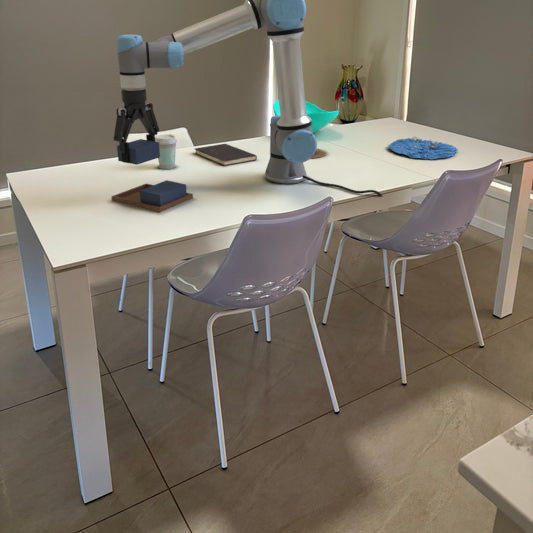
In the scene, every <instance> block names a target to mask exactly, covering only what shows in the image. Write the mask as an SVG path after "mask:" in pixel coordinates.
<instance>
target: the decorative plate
mask: <svg viewBox="0 0 533 533" xmlns="http://www.w3.org/2000/svg"><path fill="white" fill-rule="evenodd" d="M387 148H388V150H390V151H392V152H394V153H396V154H398V155H405V156H408V157H409V158H411V159H423V160H438V159H444V158H445V159H447V158H450V157H453V156H455V155H456V153H457V152H458V151H459V149H458V148H457V147H455V145H453V144H448V143H444V142H441V141H439V142H438V141H435V140H432V139H430V140H427V139H423V138H422V139H421V138H418V137H417V136H413V137H412V138H410V137H408V138H401V139H400V138H399V139H396V140H394V141H392V142H391V143H390V144H388V145H387Z"/></svg>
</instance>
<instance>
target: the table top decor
mask: <svg viewBox="0 0 533 533" xmlns="http://www.w3.org/2000/svg"><path fill="white" fill-rule="evenodd" d="M305 105H306V114H307V115H308V116H309V117H310V118H311V121H312V132H313V134H314V133H315V132H318V131H319V130H320V129H323V128H324V127H327V125H329V124H330V123H332V122H333V121H334V120H335V119H336V118H337V117H338V115H339V114H340V110H334V111H328V110H324V109H322V108H321V107H318V106H317V105H316V104H314V103H311V102H310V101H307V100H305ZM272 106H273V108H272V109H273V112H274V116H278V115H280V106H279V99H276V100H275V101H274V103H273V104H272Z"/></svg>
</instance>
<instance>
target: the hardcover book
mask: <svg viewBox="0 0 533 533" xmlns="http://www.w3.org/2000/svg"><path fill="white" fill-rule="evenodd" d="M194 150H195V153H194V155H197V156H199V157H201V158H204V159H206V160H208V161H211V162H213V163H216V164H218V165H220V166H223V167H228V166H233V165H239V164H244V163H249V162H250V163H251V162H255V161H257V159H258V156H257V155H256V154H254V153H253V152H249V151H246V150H244V149H241V148H238V147H236V146H233V145H231V144H227V143H221V144H214V145H208V146H202V147H196V148H194Z"/></svg>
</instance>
